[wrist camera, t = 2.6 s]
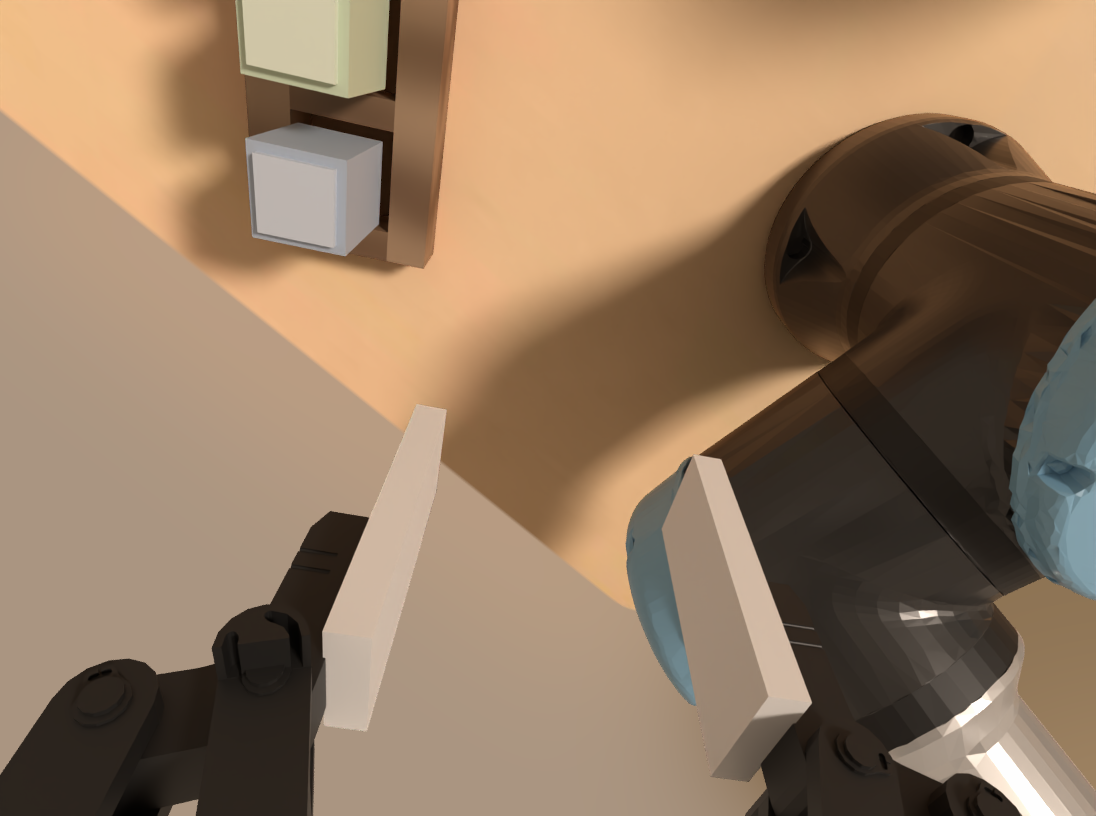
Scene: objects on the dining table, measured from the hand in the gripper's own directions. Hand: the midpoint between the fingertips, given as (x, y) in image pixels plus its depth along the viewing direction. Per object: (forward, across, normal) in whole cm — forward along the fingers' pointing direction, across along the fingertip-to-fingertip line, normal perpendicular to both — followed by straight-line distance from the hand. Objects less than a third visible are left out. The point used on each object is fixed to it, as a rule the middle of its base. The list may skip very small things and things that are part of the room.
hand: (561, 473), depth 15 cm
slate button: (+22, -13, +1) cm, 25 cm away
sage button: (+22, -13, +8) cm, 26 cm away
